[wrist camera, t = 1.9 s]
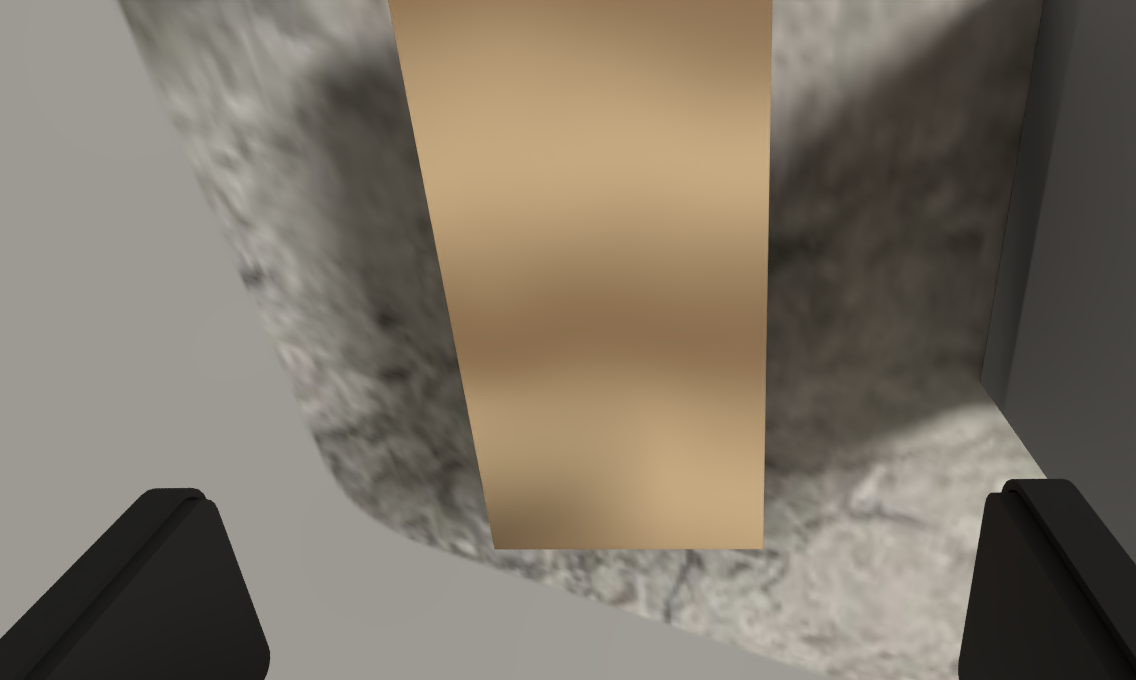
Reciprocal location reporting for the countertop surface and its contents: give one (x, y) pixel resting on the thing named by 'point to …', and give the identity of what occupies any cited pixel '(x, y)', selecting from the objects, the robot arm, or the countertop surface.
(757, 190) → the shelf board
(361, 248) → the countertop surface
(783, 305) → the countertop surface
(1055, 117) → the cabinet stand
